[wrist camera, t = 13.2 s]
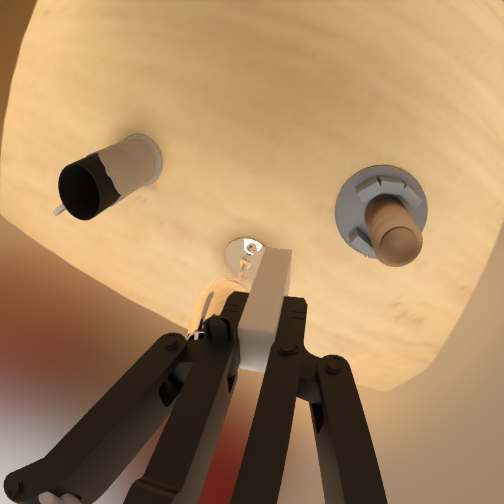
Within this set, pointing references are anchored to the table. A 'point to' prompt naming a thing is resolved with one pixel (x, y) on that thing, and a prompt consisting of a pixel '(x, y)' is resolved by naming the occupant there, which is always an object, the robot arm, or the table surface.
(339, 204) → the grey round base
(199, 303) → the wineglass
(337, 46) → the table surface
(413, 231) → the stopper
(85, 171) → the glass holder
